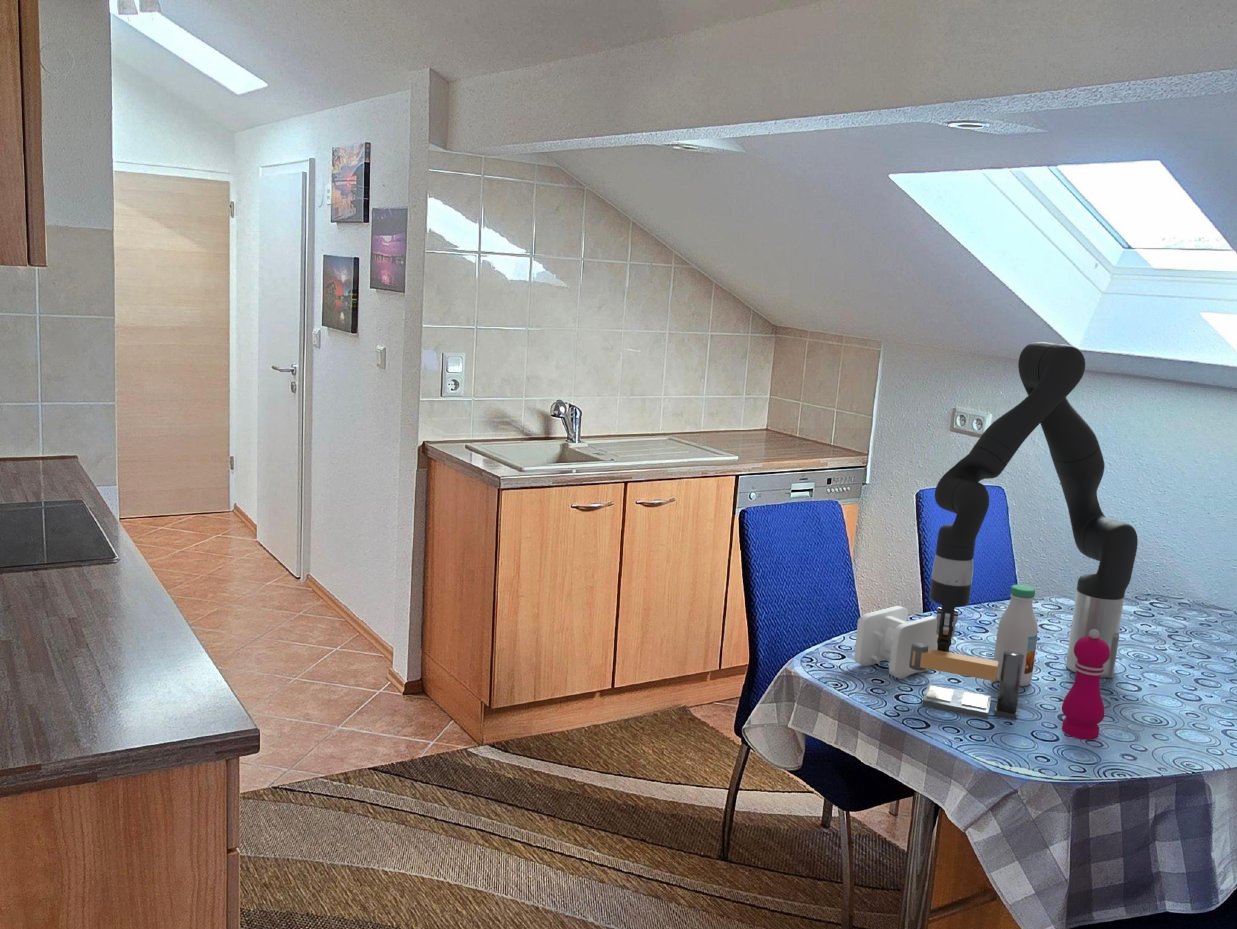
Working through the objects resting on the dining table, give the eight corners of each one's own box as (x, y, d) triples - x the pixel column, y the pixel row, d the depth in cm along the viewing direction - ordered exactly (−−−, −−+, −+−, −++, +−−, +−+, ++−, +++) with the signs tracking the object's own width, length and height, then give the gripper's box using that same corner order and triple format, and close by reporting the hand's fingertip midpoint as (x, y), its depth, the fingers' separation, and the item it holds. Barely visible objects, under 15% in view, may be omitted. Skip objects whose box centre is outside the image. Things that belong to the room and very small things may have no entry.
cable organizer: (891, 683, 212) (897, 629, 209) (850, 666, 220) (856, 613, 217) (936, 669, 221) (942, 616, 219) (895, 653, 229) (900, 602, 227)
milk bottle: (1012, 689, 212) (1025, 594, 208) (983, 675, 218) (995, 583, 215) (1039, 684, 215) (1052, 591, 212) (1009, 670, 222) (1021, 580, 218)
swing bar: (996, 679, 201) (999, 657, 200) (995, 685, 198) (997, 663, 197) (910, 663, 207) (912, 642, 206) (908, 668, 204) (910, 647, 203)
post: (1017, 711, 201) (1025, 652, 198) (1016, 719, 197) (1024, 659, 195) (995, 707, 202) (1003, 648, 200) (994, 715, 199) (1001, 655, 196)
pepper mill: (1051, 723, 196) (1065, 622, 192) (1088, 724, 197) (1103, 623, 193) (1070, 741, 189) (1086, 636, 185) (1109, 741, 190) (1125, 637, 186)
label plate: (990, 701, 205) (991, 694, 205) (987, 719, 197) (988, 711, 196) (927, 689, 209) (928, 682, 209) (921, 705, 201) (922, 698, 201)
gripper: (971, 590, 197) (961, 677, 200) (971, 572, 210) (961, 654, 213) (930, 584, 199) (920, 670, 203) (932, 567, 212) (923, 648, 215)
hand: (941, 662), depth 208 cm, fingers closed
